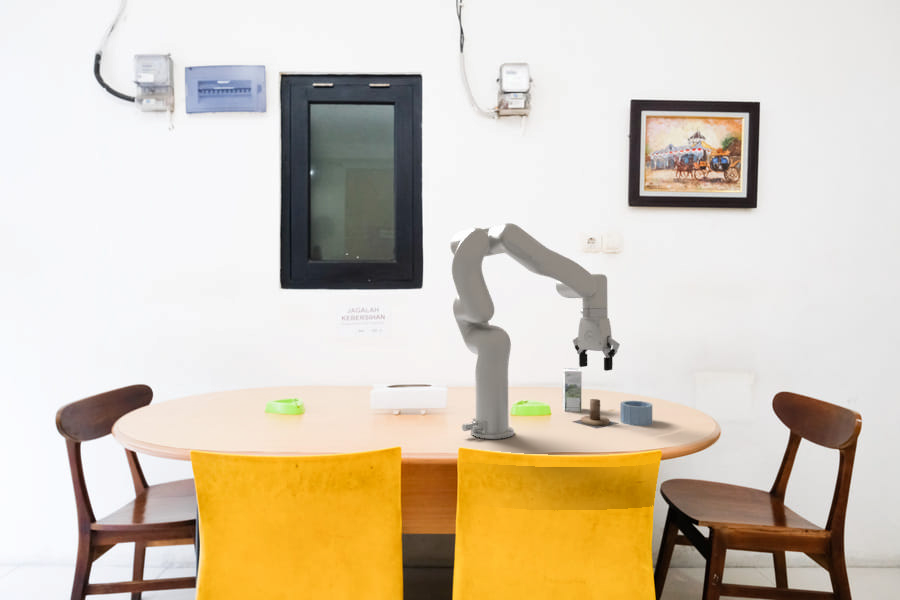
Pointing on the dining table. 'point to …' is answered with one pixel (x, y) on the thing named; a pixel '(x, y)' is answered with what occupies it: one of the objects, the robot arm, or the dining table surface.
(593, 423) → the lid
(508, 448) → the dining table surface
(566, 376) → the syrup box
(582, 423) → the mat
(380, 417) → the dining table surface
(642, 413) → the blue round pot
